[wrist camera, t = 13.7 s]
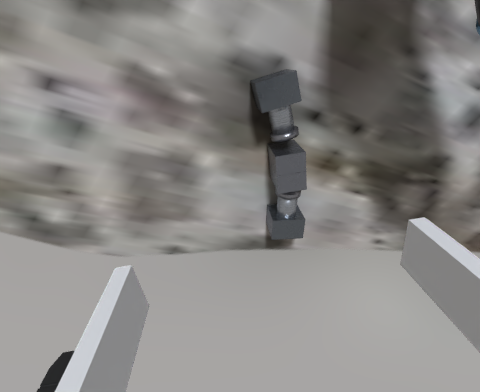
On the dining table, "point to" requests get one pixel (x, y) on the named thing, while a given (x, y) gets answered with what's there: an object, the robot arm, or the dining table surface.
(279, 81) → the shaft
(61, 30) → the dining table surface
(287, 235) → the shaft
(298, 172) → the block
